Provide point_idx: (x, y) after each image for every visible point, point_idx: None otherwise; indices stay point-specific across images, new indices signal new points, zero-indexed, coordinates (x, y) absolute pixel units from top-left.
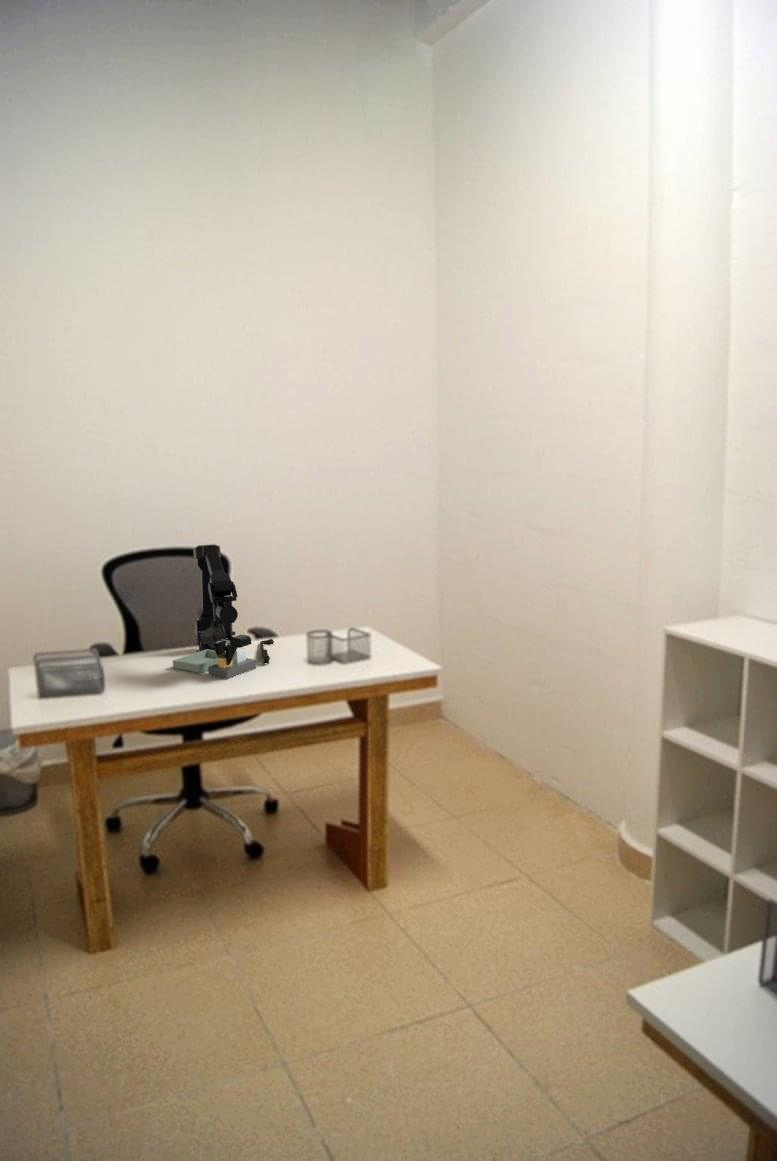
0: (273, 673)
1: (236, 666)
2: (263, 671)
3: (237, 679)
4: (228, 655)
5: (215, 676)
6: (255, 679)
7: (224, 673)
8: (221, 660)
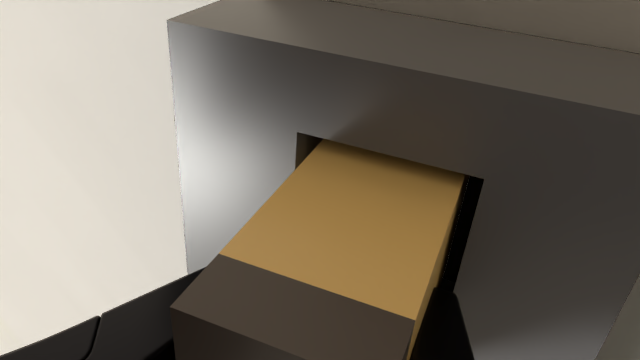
0: (52, 291)
1: (194, 250)
2: None
3: (151, 42)
4: (75, 326)
5: (490, 30)
6: (19, 104)
7: (253, 13)
8: (306, 243)
